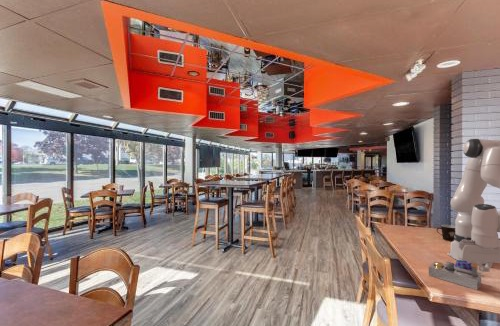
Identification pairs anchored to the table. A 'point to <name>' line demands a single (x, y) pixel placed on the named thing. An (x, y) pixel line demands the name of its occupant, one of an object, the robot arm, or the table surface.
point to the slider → (474, 269)
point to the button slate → (450, 266)
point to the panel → (456, 276)
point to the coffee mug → (447, 232)
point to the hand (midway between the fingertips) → (484, 271)
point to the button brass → (438, 264)
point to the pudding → (464, 265)
